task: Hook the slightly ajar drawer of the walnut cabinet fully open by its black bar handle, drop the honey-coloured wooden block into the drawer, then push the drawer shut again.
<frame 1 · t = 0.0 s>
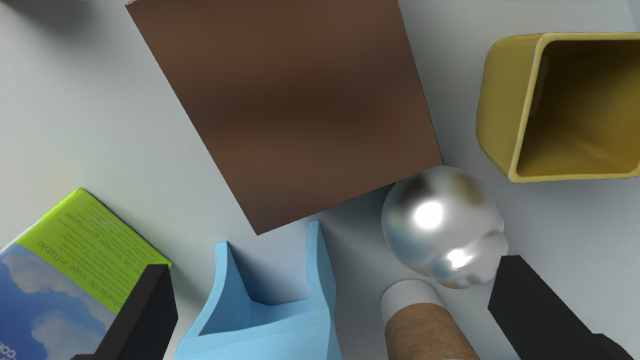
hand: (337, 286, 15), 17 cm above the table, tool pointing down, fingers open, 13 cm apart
blue doll chair: (281, 272, 36), on the table
coffee cup: (407, 300, 38), on the table
cabinet: (300, 71, 28), on the table
box: (118, 235, 33), on the table
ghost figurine: (422, 197, 33), on the table
flower pot: (511, 85, 30), on the table
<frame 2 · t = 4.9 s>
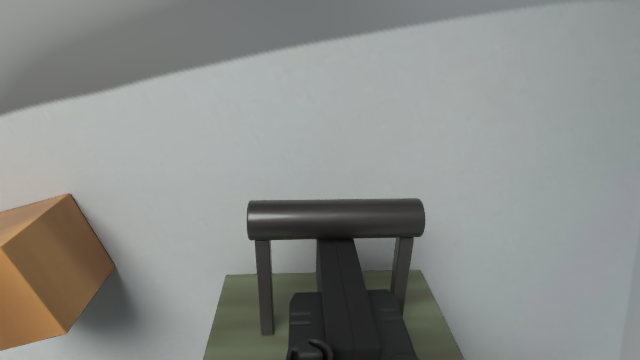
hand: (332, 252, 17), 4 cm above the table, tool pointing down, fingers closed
block: (52, 242, 21), on the table
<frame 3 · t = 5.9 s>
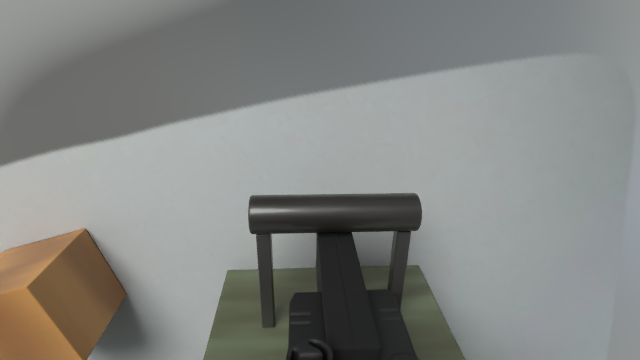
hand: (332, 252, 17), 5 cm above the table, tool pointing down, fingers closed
block: (68, 273, 22), on the table
drawer: (327, 355, 20), point 4 cm above the table, slide at 7.3 cm
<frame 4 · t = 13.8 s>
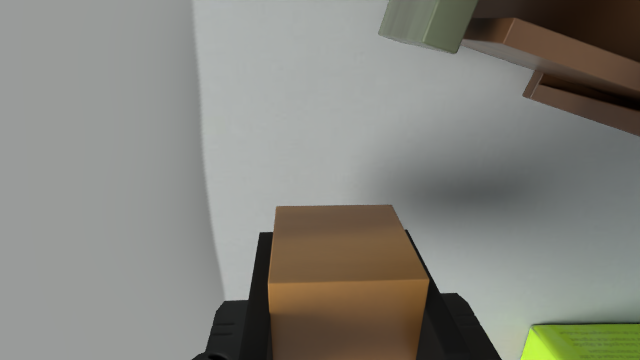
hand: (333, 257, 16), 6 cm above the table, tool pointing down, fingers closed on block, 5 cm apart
box: (589, 337, 27), on the table
block: (332, 253, 17), point 5 cm above the table, touching gripper
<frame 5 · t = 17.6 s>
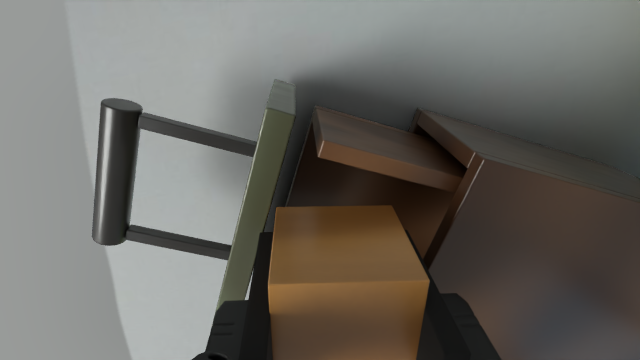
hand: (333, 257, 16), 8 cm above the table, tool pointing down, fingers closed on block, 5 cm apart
cabinet: (477, 221, 26), on the table
block: (332, 254, 17), point 8 cm above the table, touching gripper
drawer: (306, 211, 20), point 4 cm above the table, slide at 7.4 cm, touching gripper
when the fingers open (8 cm above the table, at t = 20.8 s): block drops 6 cm, resting on drawer.
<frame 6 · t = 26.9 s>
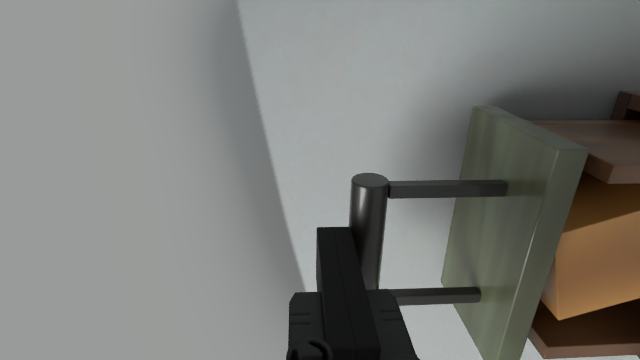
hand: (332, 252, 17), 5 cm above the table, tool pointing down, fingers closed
block: (542, 209, 21), point 2 cm above the table, touching drawer
drawer: (546, 233, 18), point 4 cm above the table, slide at 7.4 cm, touching block, gripper
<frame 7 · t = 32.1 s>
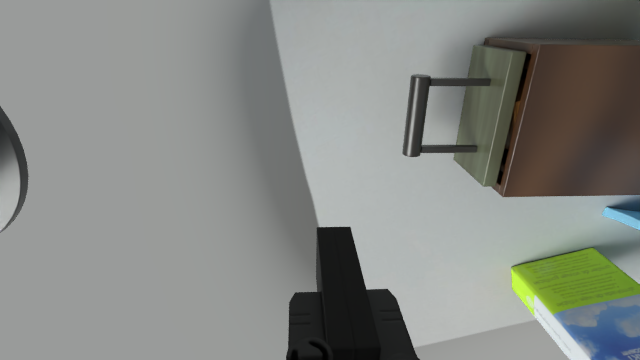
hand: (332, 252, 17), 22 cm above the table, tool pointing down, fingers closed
cabinet: (541, 104, 38), on the table
box: (550, 266, 47), on the table
block: (513, 107, 36), point 2 cm above the table, touching drawer
drawer: (513, 114, 34), point 4 cm above the table, slide at 0.3 cm, touching block
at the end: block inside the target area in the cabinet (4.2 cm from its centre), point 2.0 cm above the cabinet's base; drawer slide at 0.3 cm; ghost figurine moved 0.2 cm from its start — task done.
